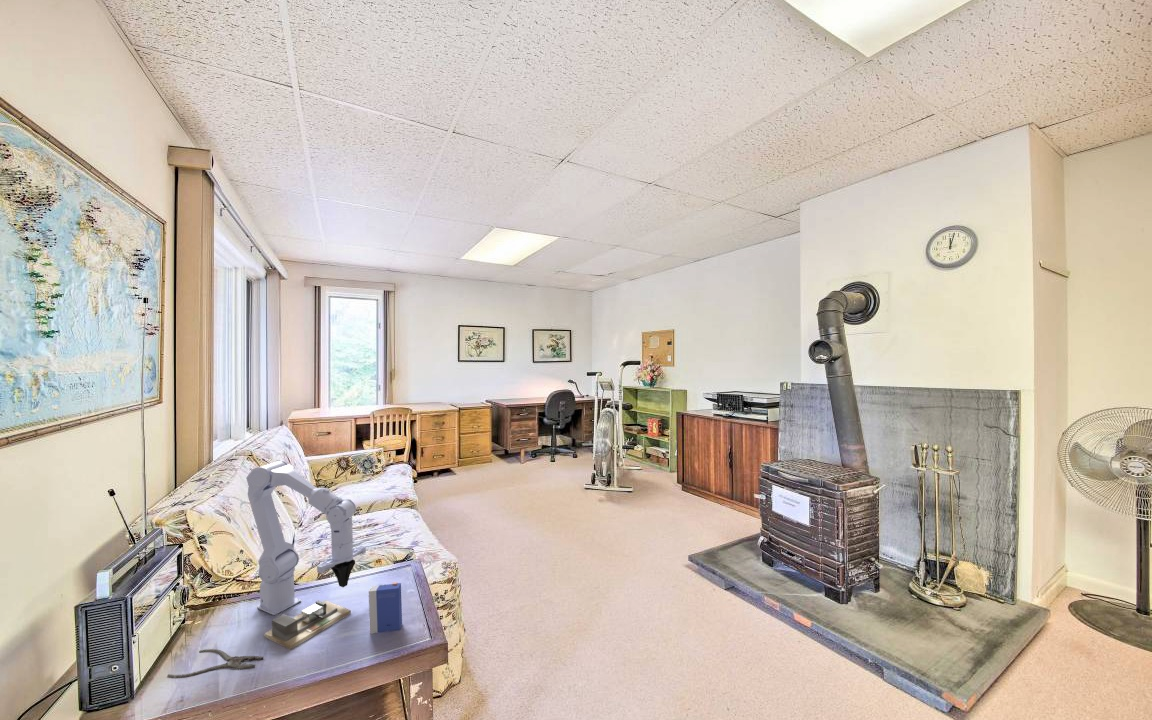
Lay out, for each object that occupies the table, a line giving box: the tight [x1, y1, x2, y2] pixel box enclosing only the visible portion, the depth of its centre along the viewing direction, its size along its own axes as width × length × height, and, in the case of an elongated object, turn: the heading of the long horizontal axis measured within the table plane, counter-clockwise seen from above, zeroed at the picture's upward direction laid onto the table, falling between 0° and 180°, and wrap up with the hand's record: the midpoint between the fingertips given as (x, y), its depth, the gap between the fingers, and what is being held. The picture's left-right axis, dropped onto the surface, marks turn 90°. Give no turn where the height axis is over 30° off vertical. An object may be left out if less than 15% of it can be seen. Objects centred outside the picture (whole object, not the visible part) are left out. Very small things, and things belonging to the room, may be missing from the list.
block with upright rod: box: [301, 600, 326, 623], centre depth 120 cm, size 5×7×3 cm
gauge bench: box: [264, 600, 352, 650], centre depth 120 cm, size 17×12×5 cm
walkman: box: [368, 582, 403, 634], centre depth 117 cm, size 8×3×12 cm, turn 99°
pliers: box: [167, 648, 264, 679], centre depth 107 cm, size 10×1×20 cm
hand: (343, 585), depth 129 cm, fingers closed
